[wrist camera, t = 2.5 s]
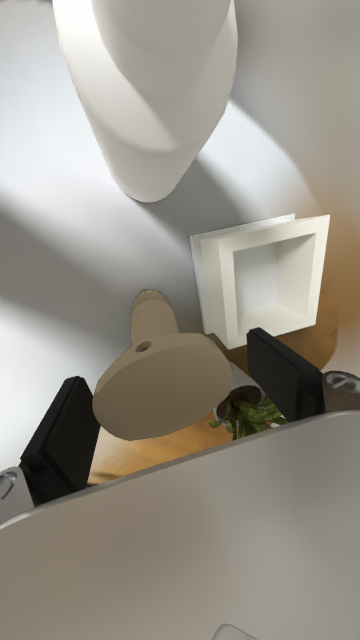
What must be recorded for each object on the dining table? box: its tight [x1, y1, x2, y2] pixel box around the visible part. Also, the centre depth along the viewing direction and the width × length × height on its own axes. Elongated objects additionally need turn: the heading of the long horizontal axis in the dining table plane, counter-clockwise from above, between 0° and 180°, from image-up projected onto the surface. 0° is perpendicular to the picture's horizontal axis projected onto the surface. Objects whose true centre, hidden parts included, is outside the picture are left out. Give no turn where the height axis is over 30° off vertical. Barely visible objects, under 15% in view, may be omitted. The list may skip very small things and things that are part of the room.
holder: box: [189, 214, 330, 350], centre depth 21 cm, size 12×12×6 cm
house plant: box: [207, 361, 289, 440], centre depth 22 cm, size 14×14×16 cm
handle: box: [92, 289, 233, 441], centre depth 15 cm, size 5×6×15 cm
